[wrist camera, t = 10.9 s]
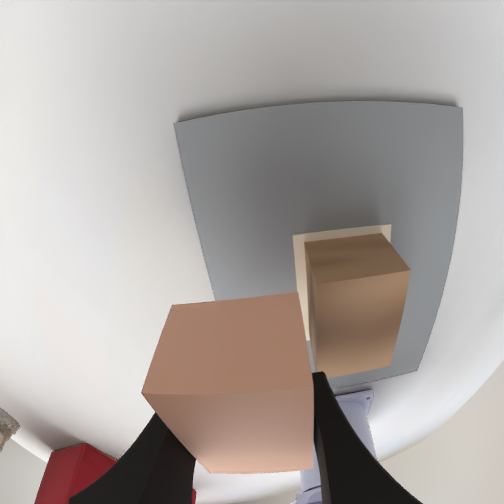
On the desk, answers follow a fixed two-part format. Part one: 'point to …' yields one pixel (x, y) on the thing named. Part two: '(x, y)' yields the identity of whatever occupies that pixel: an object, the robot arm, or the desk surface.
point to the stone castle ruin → (6, 427)
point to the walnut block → (354, 302)
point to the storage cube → (73, 473)
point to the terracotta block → (237, 384)
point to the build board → (327, 200)
